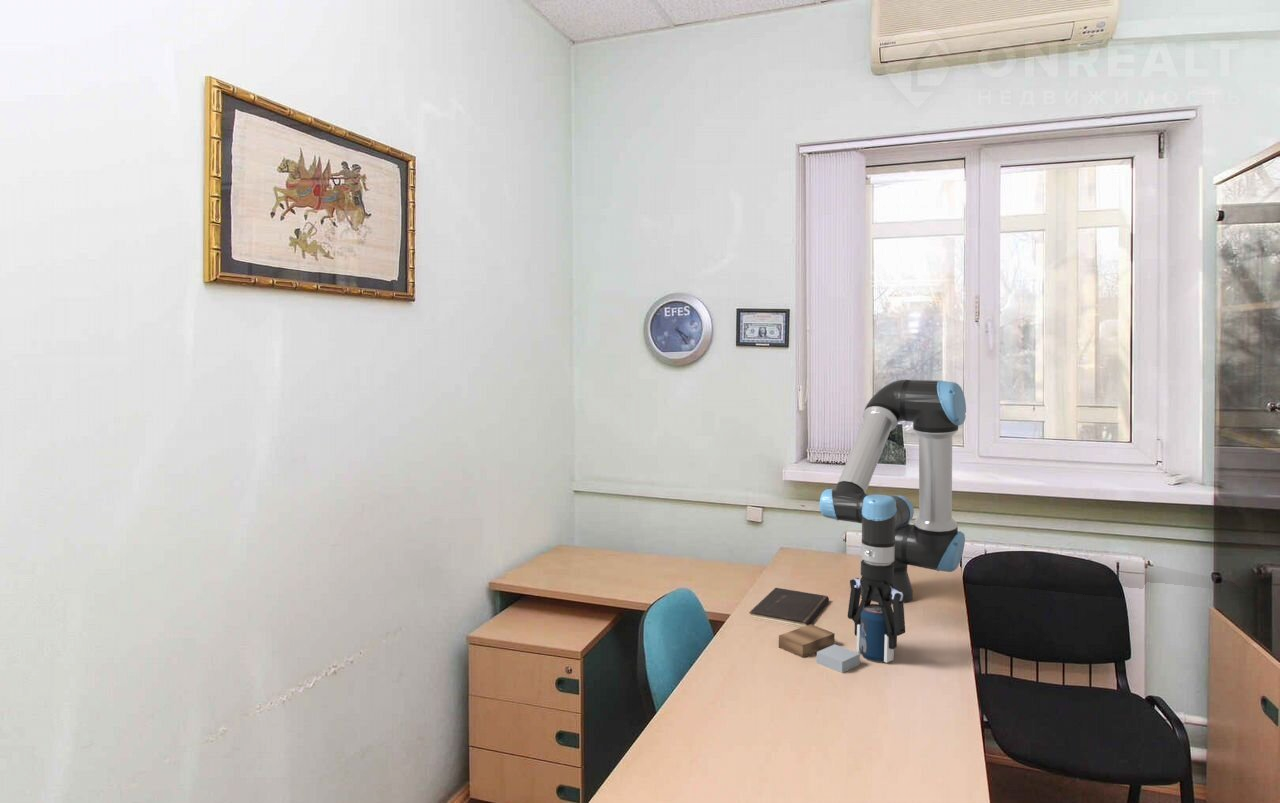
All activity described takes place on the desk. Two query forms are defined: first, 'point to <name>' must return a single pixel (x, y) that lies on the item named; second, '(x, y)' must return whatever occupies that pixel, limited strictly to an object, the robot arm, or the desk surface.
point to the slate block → (838, 658)
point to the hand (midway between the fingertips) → (874, 655)
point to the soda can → (872, 633)
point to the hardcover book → (789, 607)
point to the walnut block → (806, 640)
